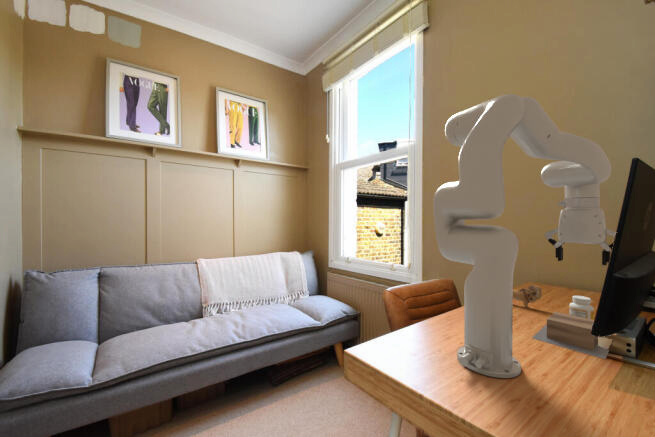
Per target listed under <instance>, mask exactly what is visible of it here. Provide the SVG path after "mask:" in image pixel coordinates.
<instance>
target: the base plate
mask: <svg viewBox="0 0 655 437" xmlns="http://www.w3.org/2000/svg"><path fill="white" fill-rule="evenodd" d="M531 339H533V340H537V341H540V342H544V343H547V344H550V345H553V346H557V347H561V348H564V349H568V350H572V351H574V352H578V353H581V354H586V355H589V356H592V357H596V358H599V359H603V360H606V359H607V357H608V354H609V351H610V350H608V349H604V348H602V347H600V346H598V342H597V343H596V345H595V347H594V349H593V350H590V349H586V348H583V347H579V346H576V345H572V344H568V343H565V342H561V341H557V340H554V339H550V338H547V323H545V325H544V326H543V327H542V328H541V329H539V331H538V332H536V333H535V334H534V335H533V336H532V337H531Z"/></svg>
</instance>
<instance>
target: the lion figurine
mask: <svg viewBox="0 0 655 437" xmlns="http://www.w3.org/2000/svg"><path fill="white" fill-rule="evenodd" d="M542 296H543V291H542V288H541V287H540V286H538V285H534V284H533V285H530V286H528V287H523V288H522V289H518V290H517V289H515V288H514V289H513V298H512V299H514V300H516V301H519V302H523V308H524V309H530V307H529V303H531V304H532V303H533V304H534V303H535V302H536V301H538V300H540V299H541V298H542Z"/></svg>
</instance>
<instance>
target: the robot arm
mask: <svg viewBox="0 0 655 437" xmlns="http://www.w3.org/2000/svg"><path fill="white" fill-rule="evenodd" d="M444 128H445V129H444V134H445V138H446V140H447V141H448V142H449V143H450V144H451V145H453V146H455V147H458V148H459V147H460V151H459V155H458V177H459V178H458V180H456V181H455V180H454V181H449V182H446V183H444V184H441V186H440V187H438V188H437V190H436V192H434V196H433V202H432V209H433V210H432V211H433V220H434V228H435V229H434V230H435V237H436V243H437V247H438V251H439V253H440V254H441V256H442V257H443V258H445V259H447V260H448V261H451V262H457V263H463V264H466V265H468V264H469V265H472V266H473V268H472V269H471V271H470V272H469V273H468V275H467V276H466V278H465V281H464V286H463V287H464V291H463V294H464V297H463V298H464V299H463V300H464V305H463V306H464V308H463V309H464V311H463V312H464V313H463V314H464V316H463V317H464V318H463V319H464V320H463V321H464V323H463V324H464V326H463V329H464V331H463V332H464V338H463V340H464V341H463V342H464V344H463V346H460V347H459V348H458V349H457V352H456V358H457V359H458V362H459V364H460V365H461V366H462V367H466V368H467V369H469V370H470V371H472V372H473V371H474V372H475V373H478V374H480V375H483V376H487V377H491V378H498V379H510V378H511V379H512V378H515V377H517V376H519V375H520V374H521V372H522V364H521V363H520V361H519V360H518V359H517V358H515V357H514V356H513V319H514V318H513V314H514V312H513V305H514V304H513V303H514V302H513V287H514V286H513V284H514V283H513V282H514V274H515V266H516V261H517V258H518V253H519V240H518V238H517V236H516V234H514V232H513V231H511V230H509V229H508V228H505V227H503V226H500V225H499V226H498V225H492V224H466V220H467V221H468V220H470V221H472V220H473V221H475V220H476V221H477V220H478V221H479V220H480V221H481V220H485V221H486V220H492V219H496V218H499V217H501V216H502V214H503V213H504V212H505V207H506V193H505V183H504V182H505V181H504V180H505V179H504V170H503V151H504V148H505V145H506V143H507V141H508V139H509V137H510V138H511V139H512V140H513V141H514V142H515V143H516V145H517V146H518V147H519V148H520V149H521V150H522V151H523V153H524V154H526V155H527V156H528V157H530V158H535V159H542V160H551V161H553V162H550V163H547V164H546V165H545V166H544V167H543V168H542V170H541V173H540V178H541V181H542V182H543V184H545V185H546V186H548V187H550V188H564V199H563V200H559V201H558V206H561V207H564V209H561V210H560V212H559V219H558V227H557V228H555V229H552V230H549V231H546V232H545V233H544V236H545V238H546V239H547V241H548V243H550V244H551V245H552V246H553V247H554V248H555V258H557V262H561V261H564V247H563V245H564V244H566V243H569V244H571V243H572V244H586V245H587V244H588V245H590V244H591V245H599V246H600V247H601V248H602V249H603V250H602V252H601V265H602V266H607V265H608V263H610V262H609V260H610V261H611V251H612V250H613V249H612V247H613V243H614V241H613V242H611V243H610V244H608V243H607V242H606V240H607V235H608V236H611V237H613V238H615V235H616V233H617V232H616V231H614V230H611V229H608V228H607V223H606V218H605V211H604V209H603V208H600V207H601V206H600V205H601V204H600V202H601V200H600V199H601V197H600V196H601V194H600V193H601V192H600V191H601V190H600V185H601V184H602V183H604V182H606V181H607V180H608V179H610V176H611V174H612V164H611V161H610V159H609V157H608V156H607V154H606V152H605V151H604V150H603V149H602V147H601V146H600V145H599V144H598V143H596V142H595V141H593V140H591V139H589V138H586V137H584V136H580V135H577V134H573V133H569V132H565V131H562V130H560V129H559V128H558V126H557V125H556V124H555V123H554V121H553V120H552V118H551V117H550V116H549V114H548V113H547V112H546V111H545V109H544V108H543V107H542V105H541V104H540V103H539V102H538V101H537V100H536V99H535V98H533V97H531V96H520V95H518V94H516V93H509V94H507V93H506V94H502V95H498V96H496V97H494V98H491V99H488V100H486V101H483V102H481V103H479V104H476V105H473V106H471V107H469V108H466V109H464V110H461V111H459V112H457V113H455V114H453V115H452V116H451V117H449V118H448V120H447V121H446V124H445V127H444ZM555 234H557V239H558V241H557V240H556V239H555V238H554V237H553V235H555Z"/></svg>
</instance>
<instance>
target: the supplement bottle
mask: <svg viewBox="0 0 655 437" xmlns="http://www.w3.org/2000/svg"><path fill="white" fill-rule="evenodd" d="M571 300H572V302H570V303H569V307H568V314H569V315H573V316H578V317H583V318H587V319H592V320H595V319H594V318H595V316H594V315H595V308H594V307H593V306H592V305H590V304H591V303H592V299H591V298H590V297H587V296H583V295H572V299H571Z"/></svg>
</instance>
